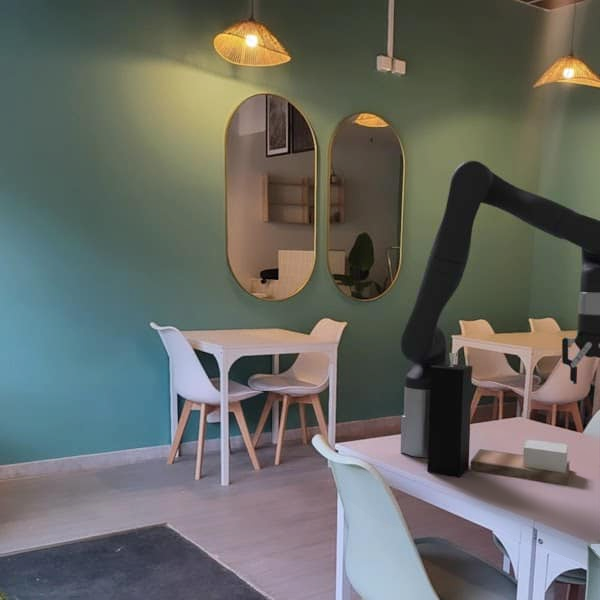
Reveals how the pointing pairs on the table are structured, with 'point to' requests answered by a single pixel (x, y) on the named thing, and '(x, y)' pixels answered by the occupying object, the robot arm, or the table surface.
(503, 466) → the podium
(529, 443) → the carton
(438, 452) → the black rectangular column
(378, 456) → the table surface
